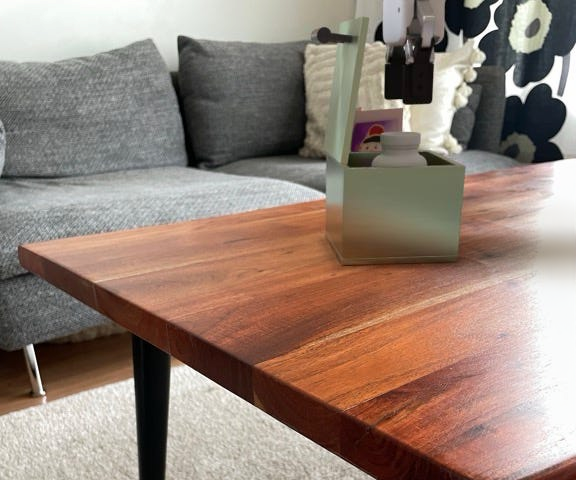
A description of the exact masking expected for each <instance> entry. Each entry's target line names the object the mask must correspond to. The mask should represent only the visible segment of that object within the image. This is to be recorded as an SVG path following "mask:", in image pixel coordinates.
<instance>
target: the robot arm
mask: <svg viewBox="0 0 576 480" xmlns="http://www.w3.org/2000/svg"><path fill="white" fill-rule="evenodd" d="M382 1H383V2H382V37H383V38H382V39H383V42H384V44H386V45H385V46H386V50H385V54H384V55H385V56H384V61H385V63H384V79H383V80H384V82H383V83H384V85H383V98H384V100H386V101H395V100H396V101H398V100H399V101H400V100H401V101H402V104H403V105H405V106H418V105H419V106H420V105H430V104H432V102H433V98H434V97H433V96H434V75H435V58H436V56H435V47H434V46H435V45H438V44H439V43H441V42H442V41H443V39H444V38H445V37H444V36H445V11H446V10H445V6H446V5H445V4H446V3H445V1H446V0H382Z"/></svg>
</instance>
